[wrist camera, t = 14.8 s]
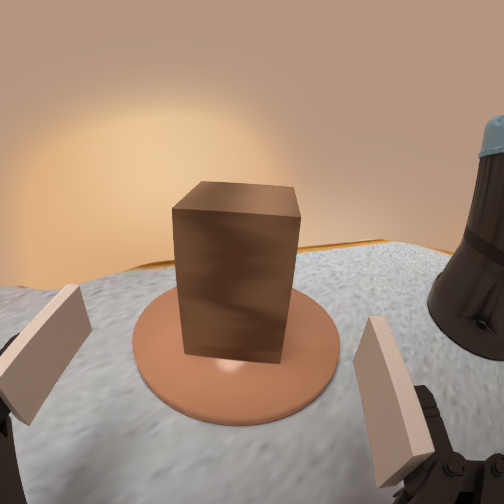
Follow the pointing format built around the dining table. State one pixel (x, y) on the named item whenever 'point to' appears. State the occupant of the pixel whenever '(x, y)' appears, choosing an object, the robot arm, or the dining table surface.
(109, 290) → the dining table surface
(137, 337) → the dish
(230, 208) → the walnut block
